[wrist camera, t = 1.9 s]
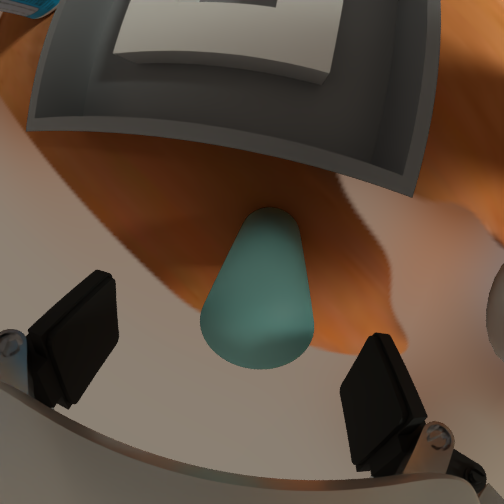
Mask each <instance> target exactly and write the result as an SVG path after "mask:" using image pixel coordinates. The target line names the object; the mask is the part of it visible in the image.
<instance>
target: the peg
mask: <svg viewBox="0 0 504 504" xmlns="http://www.w3.org/2000/svg"><path fill="white" fill-rule="evenodd" d="M200 326H201V331H202V334H203V336H204V339H205V340H206V342H207V344H208V345H209V346H210V348H211V349H212V350H213V351H214V352H215V353H216V354H218V355H219V356H220V357H222V358H223V359H225V360H226V361H228V362H230V363H232V364H235V365H238V366H241V367H245V368H250V369H272V368H276V367H280V366H283V365H286V364H288V363H290V362H292V361H294V360H295V359H297V358H298V357H299V356H300V355H301V354H302V353H303V352H304V351H305V350H306V349H307V347H308V346H309V344H310V342H311V340H312V337H313V333H314V319H313V312H312V305H311V298H310V291H309V285H308V278H307V272H306V266H305V259H304V253H303V248H302V242H301V236H300V231H299V227H298V225H297V223H296V221H295V220H294V218H293V217H292V216H291V215H290V214H288V213H287V212H285V211H283V210H281V209H278V208H273V207H267V208H261V209H259V210H256V211H254V212H253V213H251V214H250V215H249V216H248V217H247V218H246V219H245V221H244V223H243V225H242V227H241V229H240V231H239V233H238V235H237V237H236V239H235V241H234V243H233V245H232V247H231V249H230V251H229V253H228V255H227V257H226V259H225V261H224V264H223V266H222V268H221V270H220V272H219V274H218V276H217V278H216V280H215V282H214V284H213V286H212V289H211V291H210V293H209V295H208V297H207V299H206V301H205V303H204V305H203V308H202V311H201V316H200Z"/></svg>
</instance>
